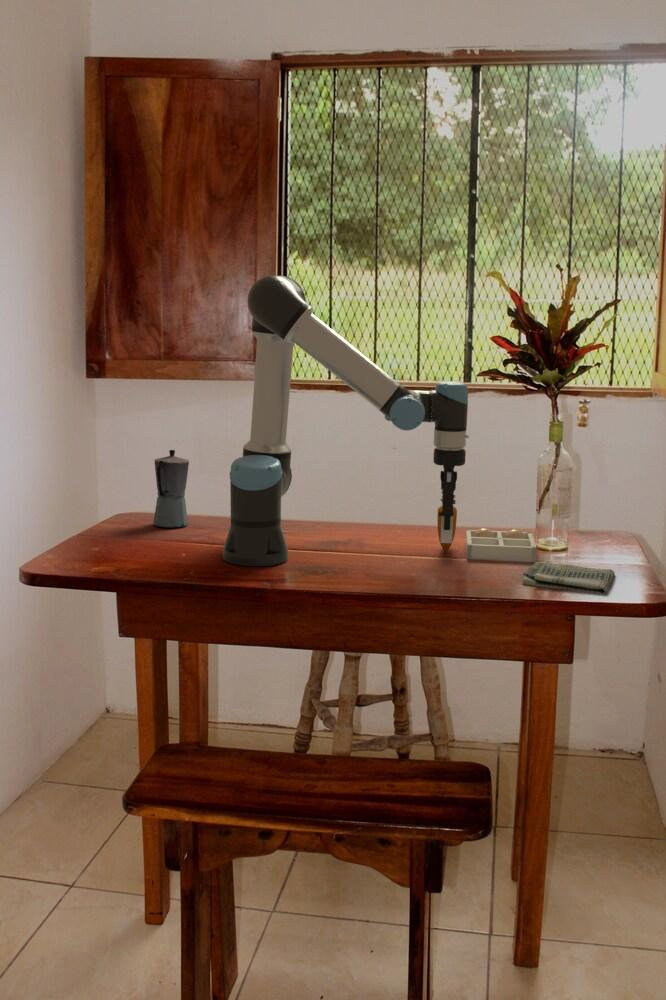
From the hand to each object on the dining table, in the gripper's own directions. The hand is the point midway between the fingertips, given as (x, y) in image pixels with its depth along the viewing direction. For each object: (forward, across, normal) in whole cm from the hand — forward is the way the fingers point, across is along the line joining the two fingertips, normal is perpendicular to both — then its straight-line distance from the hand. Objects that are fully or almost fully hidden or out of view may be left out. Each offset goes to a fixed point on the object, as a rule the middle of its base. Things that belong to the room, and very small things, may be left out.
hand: (446, 536), depth 254 cm
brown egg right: (+3, +6, -17) cm, 18 cm away
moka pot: (+4, +16, +72) cm, 74 cm away
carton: (+4, +2, -13) cm, 14 cm away
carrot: (+4, 0, 0) cm, 4 cm away
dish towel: (+5, -20, -27) cm, 34 cm away
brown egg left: (+3, +6, -9) cm, 11 cm away
